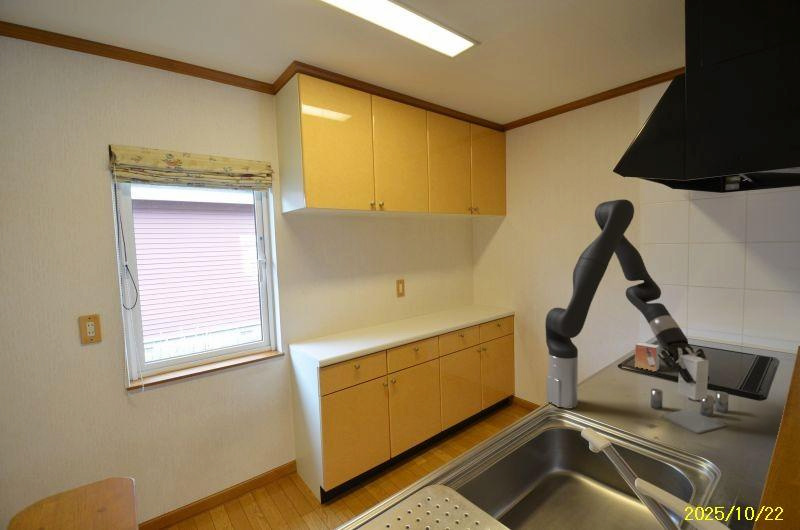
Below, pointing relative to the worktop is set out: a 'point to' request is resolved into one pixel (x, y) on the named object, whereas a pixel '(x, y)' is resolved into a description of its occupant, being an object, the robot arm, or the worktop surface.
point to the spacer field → (705, 406)
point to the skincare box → (694, 377)
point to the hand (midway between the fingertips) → (698, 381)
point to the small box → (647, 356)
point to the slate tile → (692, 421)
